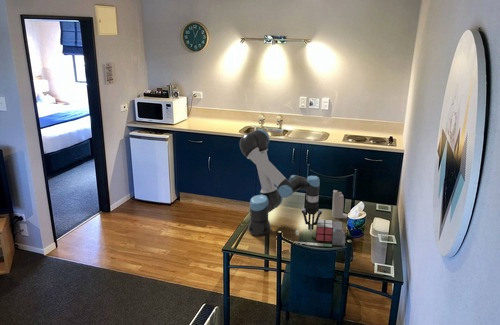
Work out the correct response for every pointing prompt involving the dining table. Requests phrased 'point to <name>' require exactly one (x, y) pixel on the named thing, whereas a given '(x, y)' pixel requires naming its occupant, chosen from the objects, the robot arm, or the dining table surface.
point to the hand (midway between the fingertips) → (310, 233)
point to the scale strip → (315, 244)
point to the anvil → (338, 234)
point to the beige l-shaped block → (338, 205)
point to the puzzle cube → (324, 230)
